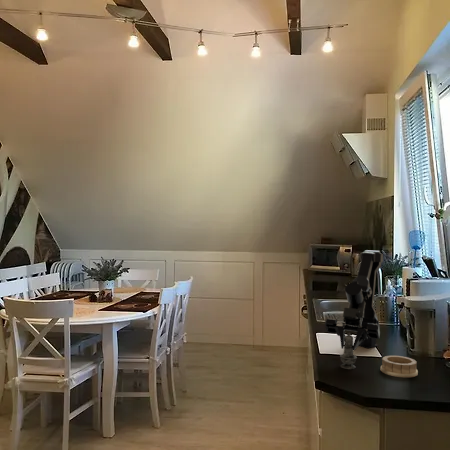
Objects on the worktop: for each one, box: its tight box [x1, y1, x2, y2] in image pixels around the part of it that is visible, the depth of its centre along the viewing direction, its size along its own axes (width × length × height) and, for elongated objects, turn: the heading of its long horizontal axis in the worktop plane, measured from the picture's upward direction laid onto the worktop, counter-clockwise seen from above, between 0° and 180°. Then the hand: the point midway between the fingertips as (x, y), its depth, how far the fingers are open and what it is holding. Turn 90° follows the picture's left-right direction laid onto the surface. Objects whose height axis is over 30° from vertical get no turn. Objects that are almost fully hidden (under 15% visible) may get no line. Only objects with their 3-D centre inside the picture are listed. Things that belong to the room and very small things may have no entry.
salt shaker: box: [339, 332, 358, 370], centre depth 176 cm, size 6×6×12 cm
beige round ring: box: [380, 355, 419, 379], centre depth 172 cm, size 12×12×4 cm
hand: (347, 348), depth 175 cm, fingers closed on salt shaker, 4 cm apart
